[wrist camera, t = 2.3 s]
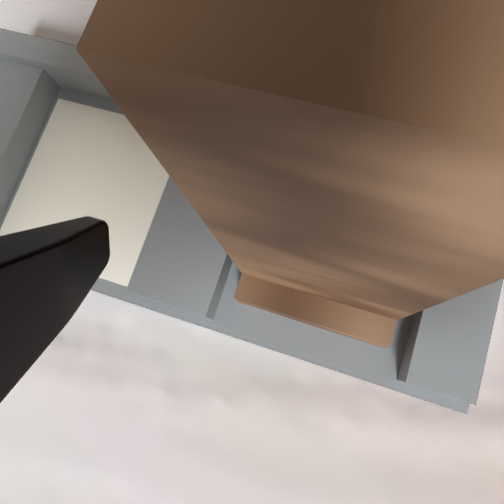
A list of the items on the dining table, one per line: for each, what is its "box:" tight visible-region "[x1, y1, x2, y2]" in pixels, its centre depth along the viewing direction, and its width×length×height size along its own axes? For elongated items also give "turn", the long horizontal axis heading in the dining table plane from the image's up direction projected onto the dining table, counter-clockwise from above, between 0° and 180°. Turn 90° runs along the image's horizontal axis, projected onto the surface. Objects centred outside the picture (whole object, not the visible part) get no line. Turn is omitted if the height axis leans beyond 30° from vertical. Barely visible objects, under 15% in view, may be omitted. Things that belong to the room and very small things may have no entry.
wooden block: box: [76, 0, 504, 348], centre depth 12 cm, size 6×6×14 cm
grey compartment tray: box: [0, 28, 503, 414], centre depth 19 cm, size 24×10×4 cm, turn 72°
